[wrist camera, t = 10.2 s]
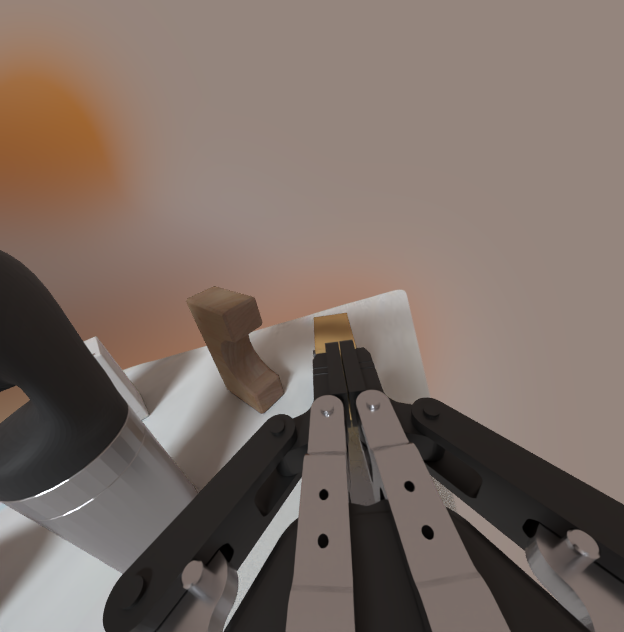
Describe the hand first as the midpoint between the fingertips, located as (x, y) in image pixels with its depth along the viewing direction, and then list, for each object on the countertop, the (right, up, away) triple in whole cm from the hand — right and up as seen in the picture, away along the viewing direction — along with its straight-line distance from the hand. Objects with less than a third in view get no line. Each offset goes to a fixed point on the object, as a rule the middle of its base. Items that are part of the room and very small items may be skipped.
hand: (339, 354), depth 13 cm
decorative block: (-12, -12, +33) cm, 37 cm away
